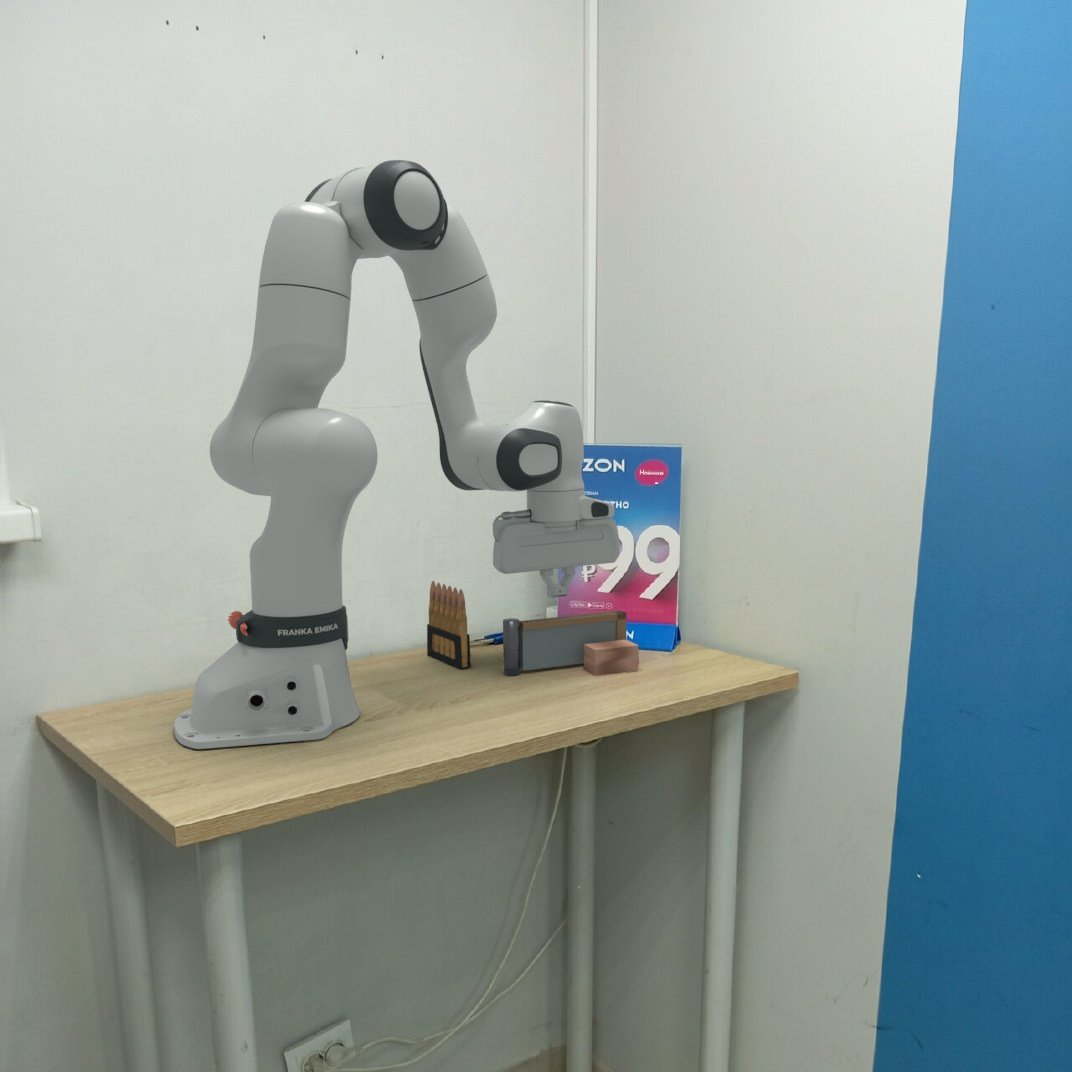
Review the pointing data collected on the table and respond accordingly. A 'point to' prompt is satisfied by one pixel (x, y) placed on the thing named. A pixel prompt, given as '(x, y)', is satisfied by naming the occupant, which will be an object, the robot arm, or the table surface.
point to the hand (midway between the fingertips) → (557, 596)
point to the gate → (566, 637)
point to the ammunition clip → (448, 627)
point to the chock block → (611, 657)
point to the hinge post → (511, 647)
